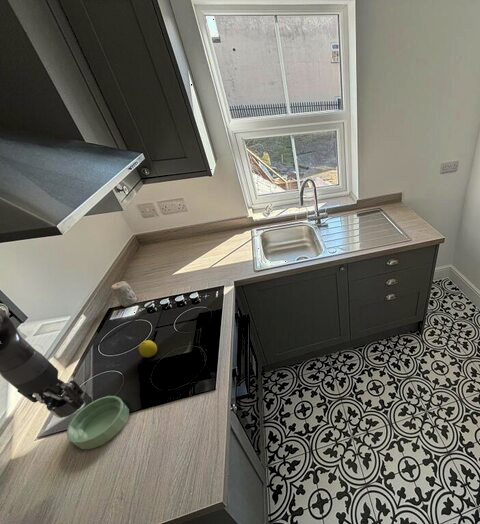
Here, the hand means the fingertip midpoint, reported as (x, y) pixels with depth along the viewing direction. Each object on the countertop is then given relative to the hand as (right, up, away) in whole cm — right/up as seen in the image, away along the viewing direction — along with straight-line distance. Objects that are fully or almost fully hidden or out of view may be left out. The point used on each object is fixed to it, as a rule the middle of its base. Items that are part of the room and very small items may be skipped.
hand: (68, 406), depth 83 cm
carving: (-27, +21, +59) cm, 68 cm away
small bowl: (0, -1, +1) cm, 1 cm away
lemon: (+2, +4, +32) cm, 33 cm away
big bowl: (+1, -11, +10) cm, 15 cm away
